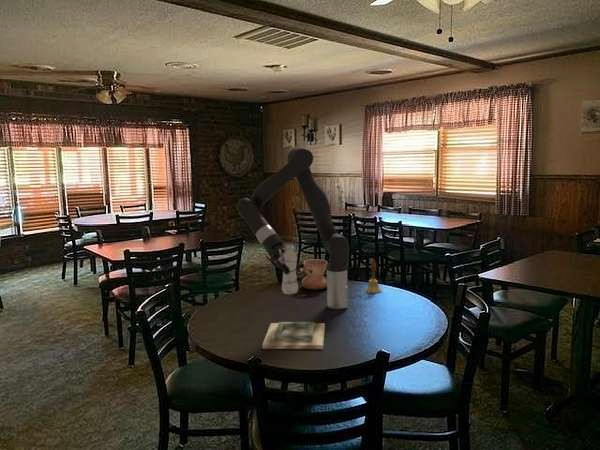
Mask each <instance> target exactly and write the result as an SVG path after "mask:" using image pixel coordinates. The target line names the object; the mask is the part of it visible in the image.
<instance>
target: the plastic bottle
mask: <svg viewBox="0 0 600 450" xmlns="http://www.w3.org/2000/svg"><path fill="white" fill-rule="evenodd" d="M283 246H284V249H285V251H284V252H283V254H282V260H283V262H284V264H285V265H286V266H287V268H288V269H289V270H290V272H289V273H288V274H287V275H286V274H285V273H284V272H283V271H282V283H281V290H282V292H283V294H284V295H295V294H297V293H298V290H299V283H298V279H297V271H296V265H297V264H298V255H297V253H296V251H294V248H295V247H294V243H288V242H287V243H284V244H283Z"/></svg>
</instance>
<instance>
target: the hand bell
mask: <svg viewBox="0 0 600 450" xmlns="http://www.w3.org/2000/svg"><path fill="white" fill-rule="evenodd" d="M376 269H377V263H376V260H375V259H372V260H371V262H370V270H371V278H370V279H369V280H368V285H367V288H366V289H364V290H365V292H366V293H367V294H368V293H369V294H379V293H381V292H383V290H382V289H381V287H380V286H379V281H378V280H377V279H376Z"/></svg>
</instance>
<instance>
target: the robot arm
mask: <svg viewBox="0 0 600 450" xmlns="http://www.w3.org/2000/svg"><path fill="white" fill-rule="evenodd" d="M286 159H287V163H286V164H285V165H284V166H283V167H281V168H280V169H279V170H278V171H277V172H275V173H273V174H272V175H270V176H269V177H267V178H266V179H265V180H263V181H262V182H261V183H260V184H259V185H258V186H257V187H256V188H255V189H253V191H252V195H251V196H250V198H249V197H243V198H240V199H239V200H238V201H237V203H236V210H237V212H238V214H239V215H240V217H241V218H242V219H244V221H245V222H246V223H247V225H248V226H249V228H250V230H251V231H252V233H253V234H254V235H255V236H256V238H257V240H258V242H259V243H260V244H261V246H262V247H263V249H264V250H265V251H266V253H267V255H266V256H265V257H266V259H267V260H268V261H269V262H270V263H271V264H272V266H273V267H274V268H279V269H281V271H282V273H283V272H284V273H285V274H286V275H287V274H288V273H289V272H290V270H289V269H288V268H287V266H286V265H285V264H284V262H283V260H282V254H283V252H284V251H285V249H284V244H283V243H284V242H283V240H282V238H280V235H278V234H277V232H276V231H275V229H274V228H273V227H272V226H271V225H270V224H269V223H268V221H267V220H266V219H265V218H264V217H263V215H262V214H261V213H260V211H261V209H262V208H263V206H264V205H265V204H266V202H268V201H269V200H270V199H272V197H273V196H274V195H275V194H277V193H278V192H279V191H280V190H281V189H282V188H283V187H284V186H285V185H286V184H288V183H289V182H290V181H291V180H292V179H293V178H296V181H297V182H298V184H299V187H300V190H301V193H302V195H303V197H304V200H305V202H306V205H307V207H308V210H309V211H310V214H311V216H312V219H313V220H314V223H315V225H316V227H317V230H318V231H319V232H318V233H319V235H320V239H321V241H322V245H323V248H324V249H325V250H326V252H328V253H329V262H327V269H326V278H327V287H326V296H327V297H326V299H327V301H326V303H327V307H328V308H329V309H334V310H342V309H348V308H349V307H348V305H349V304H348V300H349V299H348V295H349V294H348V266H349V263H350V262H349V261H350V244H349V240H348V239H347V238H346V237H345V236H343V235H341V234H339V233H338V231H337V230H336V227H335V225H334V223H333V221H332V208H331V204H330V201H329V199H328V196H327V194H326V192H325V190H324V189H323V187H322V186H321V184H320V183H319V182H318V180H317V179H316V177H314V174H313V172H312V170H311V166H312V164H313V163H314V154H313V153H312V151H311V150H310V149H308V148H305V147H297V148H292V149H290V151H289V152H288V154H287V158H286ZM300 269H301V267H300V265H299V263H297V265H296V272H298V271H299V270H300Z"/></svg>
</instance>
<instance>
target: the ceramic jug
mask: <svg viewBox="0 0 600 450" xmlns="http://www.w3.org/2000/svg"><path fill="white" fill-rule="evenodd" d="M327 263H328V261H327V260H326V259H320V258H319V259H317V258H313V259H306V260H304V261H303V267H300V269H299V270H300V272H305V273H306V276H305V277H303V278H302V279H301V285H302V287H303V288H304V289H307V290H311V291H320V290H323V289H327V276H324V275H325V272H326V271H327Z"/></svg>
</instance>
